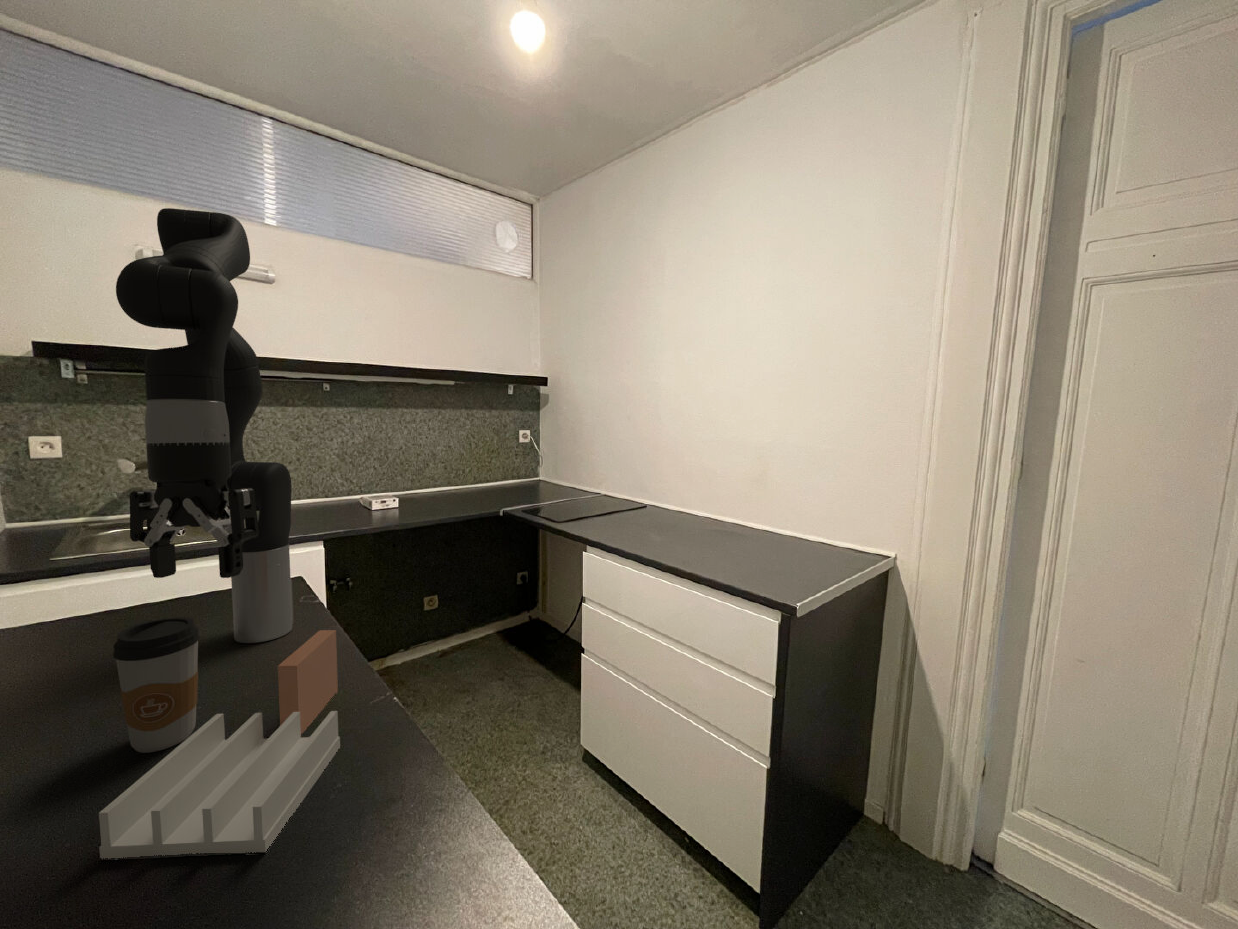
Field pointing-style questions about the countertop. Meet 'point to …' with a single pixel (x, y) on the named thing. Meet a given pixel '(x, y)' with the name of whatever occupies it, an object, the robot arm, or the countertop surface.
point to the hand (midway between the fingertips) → (197, 576)
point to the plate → (308, 678)
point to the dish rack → (219, 791)
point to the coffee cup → (158, 681)
